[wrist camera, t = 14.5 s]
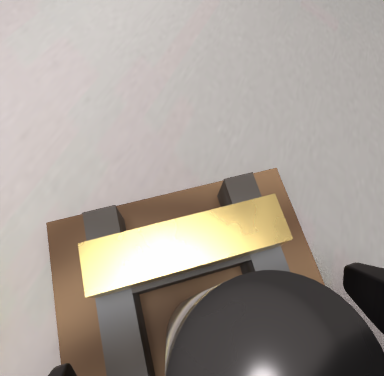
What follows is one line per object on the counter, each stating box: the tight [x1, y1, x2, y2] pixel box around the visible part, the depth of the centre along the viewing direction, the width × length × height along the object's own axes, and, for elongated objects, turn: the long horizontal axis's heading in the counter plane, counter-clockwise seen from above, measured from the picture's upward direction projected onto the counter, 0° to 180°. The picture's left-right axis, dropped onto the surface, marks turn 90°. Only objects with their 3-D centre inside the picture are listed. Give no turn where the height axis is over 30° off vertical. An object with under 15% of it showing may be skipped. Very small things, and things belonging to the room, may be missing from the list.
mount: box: [46, 168, 325, 376], centre depth 16 cm, size 18×16×4 cm
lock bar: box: [78, 194, 293, 298], centre depth 15 cm, size 2×10×2 cm, turn 105°
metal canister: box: [165, 270, 384, 376], centre depth 11 cm, size 5×5×12 cm
